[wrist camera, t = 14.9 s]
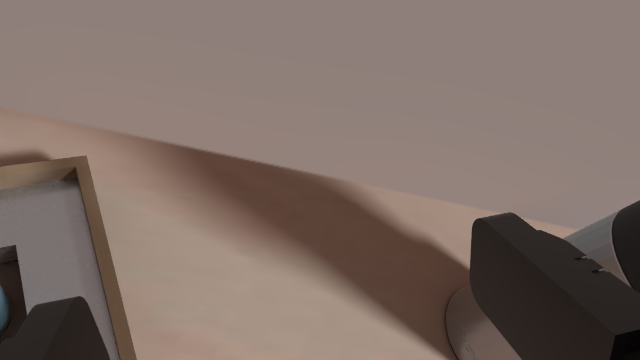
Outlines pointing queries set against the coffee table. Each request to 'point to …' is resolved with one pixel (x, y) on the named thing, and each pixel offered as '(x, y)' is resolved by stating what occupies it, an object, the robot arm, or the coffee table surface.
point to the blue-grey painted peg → (4, 310)
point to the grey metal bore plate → (53, 248)
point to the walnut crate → (81, 171)
